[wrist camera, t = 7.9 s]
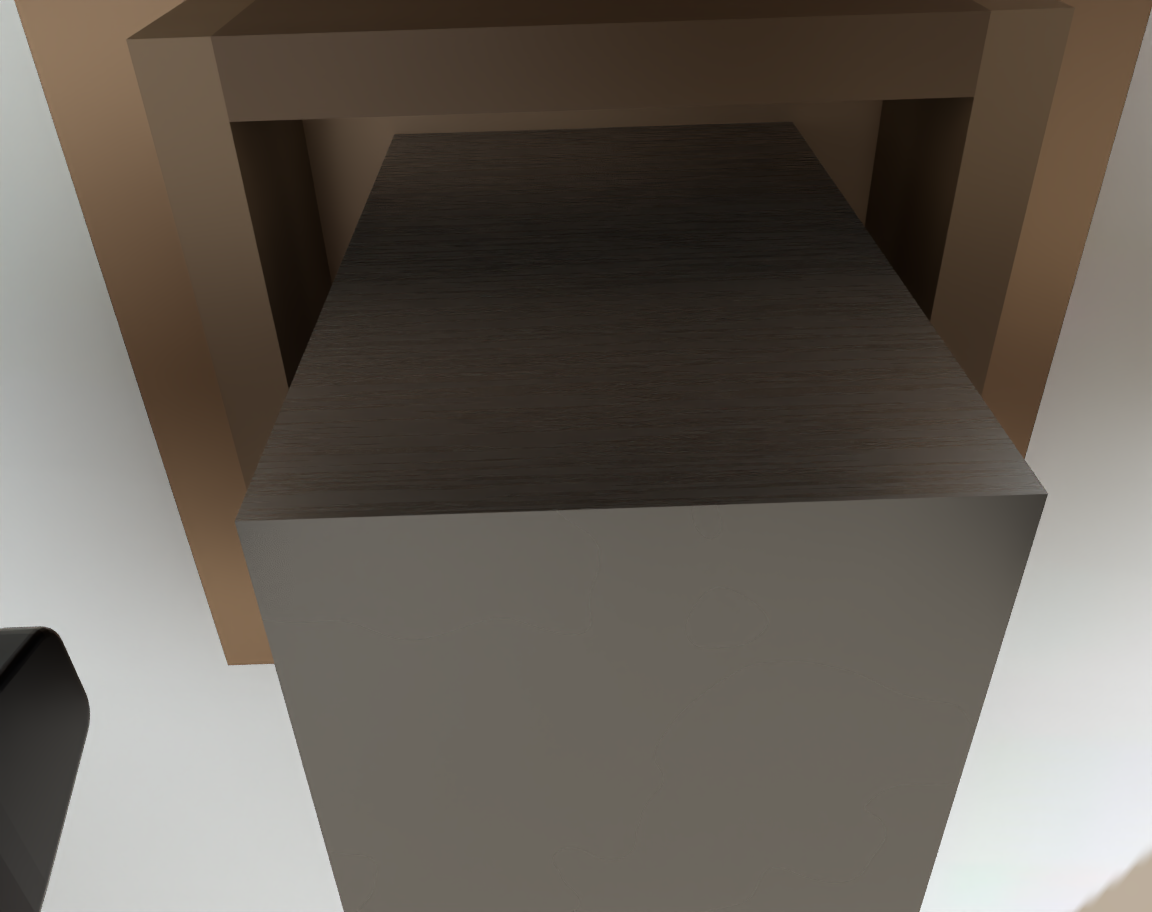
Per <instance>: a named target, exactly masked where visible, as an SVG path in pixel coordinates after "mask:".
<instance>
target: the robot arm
mask: <svg viewBox="0 0 1152 912" xmlns="http://www.w3.org/2000/svg"><path fill="white" fill-rule="evenodd" d="M89 720H90V708H89V702H88V698H87V695H86V693H85V690H84V688H83V686H82V684H81V681H80V679H79V677H78V675H77V673H76V670H75V668H74V666H73V664H72V661H71V659H70V657H69V655H68V652H67V650H66V648H65V646H64V643H63V641H62V639H61V638H60V636H59V635H58V634H57V633H56V632H55V631H54V630H52V629H51V628H47V627H41V626H40V627H12V628H1V629H0V912H40V911H41V908H42V904H43V901H44V897H45V894H46V891H47V887H48V883H49V880H50V876H51V872H52V868H53V864H54V860H55V856H56V853H57V849H58V845H59V841H60V837H61V833H62V829H63V826H64V822H65V818H66V814H67V810H68V806H69V802H70V799H71V795H72V791H73V787H74V783H75V779H76V775H77V772H78V768H79V764H80V760H81V756H82V752H83V748H84V744H85V741H86V737H87V733H88V728H89Z"/></svg>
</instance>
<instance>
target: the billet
mask: <svg viewBox="0 0 1152 912" xmlns="http://www.w3.org/2000/svg"><path fill="white" fill-rule="evenodd" d="M1047 495H1048V493H1047V492H1046V490H1045V489H1044V487H1043V486H1042V485H1041V483H1040V482H1039V480H1038V479H1037V477H1036V476H1035V474H1034V473H1033V471H1032V470H1031V469H1030V467H1029V466H1028V464H1027V463H1026V461H1025V460H1024V458H1023V457H1022V455H1021V454H1020V452H1019V451H1018V450H1017V448H1016V447H1015V445H1014V444H1013V442H1012V441H1011V439H1010V438H1009V436H1008V435H1007V434H1006V432H1005V431H1004V429H1003V428H1002V426H1001V425H1000V423H999V422H998V420H997V419H996V418H995V416H994V415H993V413H992V412H991V410H990V409H989V407H988V406H987V404H986V403H985V402H984V400H983V399H982V397H981V396H980V394H979V393H978V391H977V390H976V388H975V387H974V385H973V384H972V383H971V381H970V380H969V378H968V377H967V375H966V374H965V372H964V371H963V369H962V368H961V367H960V365H959V364H958V362H957V361H956V359H955V358H954V356H953V355H952V353H951V352H950V351H949V349H948V348H947V346H946V345H945V343H944V342H943V340H942V339H941V337H940V336H939V335H938V333H937V332H936V330H935V329H934V327H933V326H932V324H931V323H930V321H929V320H928V318H927V317H926V316H925V314H924V313H923V311H922V310H921V308H920V307H919V305H918V304H917V302H916V301H915V300H914V298H913V297H912V295H911V294H910V292H909V291H908V289H907V288H906V286H905V285H904V284H903V282H902V281H901V279H900V278H899V276H898V275H897V273H896V272H895V270H894V269H893V268H892V266H891V265H890V263H889V262H888V260H887V259H886V257H885V256H884V254H883V253H882V251H881V250H880V249H879V247H878V246H877V244H876V243H875V241H874V240H873V238H872V237H871V235H870V234H869V233H868V231H867V230H866V228H865V227H864V225H863V224H862V222H861V221H860V219H859V218H858V217H857V215H856V214H855V212H854V211H853V209H852V208H851V206H850V205H849V203H848V202H847V201H846V199H845V198H844V196H843V195H842V193H841V192H840V190H839V189H838V187H837V186H836V185H835V183H834V182H833V180H832V179H831V177H830V176H829V174H828V173H827V171H826V170H825V168H824V167H823V166H822V164H821V163H820V161H819V160H818V158H817V157H816V155H815V154H814V152H813V151H812V150H811V148H810V147H809V145H808V144H807V142H806V141H805V139H804V138H803V136H802V135H801V134H800V132H799V131H798V129H797V128H796V126H795V125H794V123H793V122H767V123H736V124H704V125H673V126H641V127H610V128H578V129H547V130H515V131H484V132H453V133H421V134H394V136H393V139H392V141H391V144H390V146H389V148H388V151H387V153H386V156H385V158H384V161H383V163H382V165H381V168H380V170H379V173H378V175H377V178H376V180H375V182H374V185H373V187H372V190H371V192H370V194H369V197H368V199H367V202H366V204H365V207H364V209H363V211H362V214H361V216H360V219H359V221H358V224H357V226H356V228H355V231H354V233H353V236H352V238H351V240H350V243H349V245H348V248H347V250H346V253H345V255H344V257H343V260H342V262H341V265H340V267H339V270H338V272H337V274H336V277H335V279H334V282H333V284H332V287H331V289H330V291H329V294H328V296H327V299H326V301H325V303H324V306H323V308H322V311H321V313H320V316H319V318H318V320H317V323H316V325H315V328H314V330H313V333H312V335H311V337H310V340H309V342H308V345H307V347H306V350H305V352H304V354H303V357H302V359H301V362H300V364H299V366H298V369H297V371H296V374H295V376H294V379H293V381H292V383H291V386H290V388H289V391H288V393H287V396H286V398H285V400H284V403H283V405H282V408H281V410H280V413H279V415H278V417H277V420H276V422H275V425H274V427H273V429H272V432H271V434H270V437H269V439H268V442H267V444H266V446H265V449H264V451H263V454H262V456H261V459H260V461H259V463H258V466H257V468H256V471H255V473H254V475H253V478H252V480H251V483H250V485H249V488H248V490H247V492H246V495H245V497H244V500H243V502H242V505H241V507H240V509H239V512H238V514H237V517H236V519H235V525H236V528H237V532H238V535H239V539H240V543H241V546H242V550H243V553H244V557H245V560H246V564H247V568H248V571H249V575H250V578H251V582H252V585H253V589H254V592H255V596H256V600H257V603H258V607H259V610H260V614H261V617H262V621H263V625H264V628H265V632H266V635H267V639H268V642H269V646H270V649H271V653H272V657H273V660H274V664H275V667H276V671H277V674H278V678H279V682H280V685H281V689H282V692H283V696H284V699H285V703H286V706H287V710H288V714H289V717H290V721H291V724H292V728H293V731H294V735H295V739H296V742H297V746H298V749H299V753H300V756H301V760H302V763H303V767H304V771H305V774H306V778H307V781H308V785H309V788H310V792H311V796H312V799H313V803H314V806H315V810H316V813H317V817H318V821H319V824H320V828H321V831H322V835H323V838H324V842H325V845H326V849H327V853H328V856H329V860H330V863H331V867H332V870H333V874H334V878H335V881H336V885H337V888H338V892H339V895H340V899H341V902H342V906H343V910H344V912H919V911H920V908H921V905H922V901H923V898H924V895H925V892H926V888H927V885H928V882H929V879H930V875H931V872H932V869H933V866H934V862H935V859H936V856H937V853H938V849H939V846H940V843H941V840H942V836H943V833H944V830H945V827H946V823H947V820H948V817H949V814H950V810H951V807H952V804H953V801H954V797H955V794H956V791H957V788H958V784H959V781H960V778H961V775H962V771H963V768H964V765H965V762H966V758H967V755H968V752H969V749H970V745H971V742H972V739H973V736H974V732H975V729H976V726H977V723H978V719H979V716H980V713H981V710H982V706H983V703H984V700H985V697H986V693H987V690H988V687H989V683H990V680H991V677H992V674H993V670H994V667H995V664H996V661H997V657H998V654H999V651H1000V648H1001V644H1002V641H1003V638H1004V635H1005V631H1006V628H1007V625H1008V622H1009V618H1010V615H1011V612H1012V609H1013V605H1014V602H1015V599H1016V596H1017V592H1018V589H1019V586H1020V583H1021V579H1022V576H1023V573H1024V570H1025V566H1026V563H1027V560H1028V557H1029V553H1030V550H1031V547H1032V544H1033V540H1034V537H1035V534H1036V531H1037V527H1038V524H1039V521H1040V518H1041V514H1042V511H1043V508H1044V505H1045V501H1046V498H1047Z"/></svg>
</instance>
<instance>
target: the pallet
mask: <svg viewBox="0 0 1152 912" xmlns="http://www.w3.org/2000/svg"><path fill="white" fill-rule="evenodd" d="M14 1H15V4H16V7H17V10H18V13H19V16H20V19H21V23H22V26H23V29H24V32H25V35H26V38H27V41H28V44H29V47H30V51H31V54H32V57H33V60H34V63H35V66H36V69H37V72H38V75H39V78H40V82H41V85H42V88H43V91H44V94H45V97H46V100H47V103H48V106H49V110H50V113H51V116H52V119H53V122H54V125H55V128H56V131H57V134H58V138H59V141H60V144H61V147H62V150H63V153H64V156H65V159H66V162H67V166H68V169H69V172H70V175H71V178H72V181H73V184H74V187H75V190H76V194H77V197H78V200H79V203H80V206H81V209H82V212H83V215H84V218H85V222H86V225H87V228H88V231H89V234H90V237H91V240H92V243H93V246H94V250H95V253H96V256H97V259H98V262H99V265H100V268H101V271H102V274H103V278H104V281H105V284H106V287H107V290H108V293H109V296H110V299H111V302H112V306H113V309H114V312H115V315H116V318H117V321H118V324H119V327H120V330H121V334H122V337H123V340H124V343H125V346H126V349H127V352H128V355H129V358H130V362H131V365H132V368H133V371H134V374H135V377H136V380H137V383H138V386H139V390H140V393H141V396H142V399H143V402H144V405H145V408H146V411H147V414H148V418H149V421H150V424H151V427H152V430H153V433H154V436H155V439H156V442H157V446H158V449H159V452H160V455H161V458H162V461H163V464H164V467H165V470H166V474H167V477H168V480H169V483H170V486H171V489H172V492H173V495H174V498H175V502H176V505H177V508H178V511H179V514H180V517H181V520H182V523H183V526H184V529H185V533H186V536H187V539H188V542H189V545H190V548H191V551H192V554H193V557H194V561H195V564H196V567H197V570H198V573H199V576H200V579H201V582H202V585H203V589H204V592H205V595H206V598H207V601H208V604H209V607H210V610H211V613H212V617H213V620H214V623H215V626H216V629H217V632H218V635H219V638H220V641H221V645H222V648H223V651H224V654H225V657H226V660H227V663H228V665H247V664H274V660H273V657H272V653H271V649H270V646H269V642H268V639H267V635H266V632H265V628H264V625H263V621H262V617H261V614H260V610H259V607H258V603H257V600H256V596H255V592H254V589H253V585H252V582H251V578H250V575H249V571H248V568H247V564H246V560H245V557H244V553H243V550H242V546H241V543H240V539H239V535H238V532H237V528H236V525H235V519H236V517H237V514H238V512H239V509H240V507H241V505H242V502H243V500H244V497H245V495H246V492H247V490H248V488H249V485H250V483H251V480H252V478H253V475H254V473H255V471H256V468H257V466H258V463H259V461H260V459H261V456H262V454H263V451H264V449H265V446H266V444H267V442H268V439H269V437H270V434H271V432H272V429H273V427H274V425H275V422H276V420H277V417H278V415H279V413H280V410H281V408H282V405H283V403H284V400H285V398H286V396H287V393H288V391H289V388H290V386H291V383H292V381H293V379H294V376H295V374H296V371H297V369H298V366H299V364H300V362H301V359H302V357H303V354H304V352H305V350H306V347H307V345H308V342H309V340H310V337H311V335H312V333H313V330H314V328H315V325H316V323H317V320H318V318H319V316H320V313H321V311H322V308H323V306H324V303H325V301H326V299H327V296H328V294H329V291H330V289H331V287H332V284H333V282H334V279H335V277H336V274H337V272H338V270H339V267H340V265H341V262H342V260H343V257H344V255H345V253H346V250H347V248H348V245H349V243H350V240H351V238H352V236H353V233H354V231H355V228H356V226H357V224H358V221H359V219H360V216H361V214H362V211H363V209H364V207H365V204H366V202H367V199H368V197H369V194H370V192H371V190H372V187H373V185H374V182H375V180H376V178H377V175H378V173H379V170H380V168H381V165H382V163H383V161H384V158H385V156H386V153H387V151H388V148H389V146H390V144H391V141H392V139H393V136H394V134H421V133H453V132H484V131H515V130H547V129H578V128H610V127H641V126H673V125H704V124H736V123H767V122H793V123H794V125H795V126H796V128H797V129H798V131H799V132H800V134H801V135H802V136H803V138H804V139H805V141H806V142H807V144H808V145H809V147H810V148H811V150H812V151H813V152H814V154H815V155H816V157H817V158H818V160H819V161H820V163H821V164H822V166H823V167H824V168H825V170H826V171H827V173H828V174H829V176H830V177H831V179H832V180H833V182H834V183H835V185H836V186H837V187H838V189H839V190H840V192H841V193H842V195H843V196H844V198H845V199H846V201H847V202H848V203H849V205H850V206H851V208H852V209H853V211H854V212H855V214H856V215H857V217H858V218H859V219H860V221H861V222H862V224H863V225H864V227H865V228H866V230H867V231H868V233H869V234H870V235H871V237H872V238H873V240H874V241H875V243H876V244H877V246H878V247H879V249H880V250H881V251H882V253H883V254H884V256H885V257H886V259H887V260H888V262H889V263H890V265H891V266H892V268H893V269H894V270H895V272H896V273H897V275H898V276H899V278H900V279H901V281H902V282H903V284H904V285H905V286H906V288H907V289H908V291H909V292H910V294H911V295H912V297H913V298H914V300H915V301H916V302H917V304H918V305H919V307H920V308H921V310H922V311H923V313H924V314H925V316H926V317H927V318H928V320H929V321H930V323H931V324H932V326H933V327H934V329H935V330H936V332H937V333H938V335H939V336H940V337H941V339H942V340H943V342H944V343H945V345H946V346H947V348H948V349H949V351H950V352H951V353H952V355H953V356H954V358H955V359H956V361H957V362H958V364H959V365H960V367H961V368H962V369H963V371H964V372H965V374H966V375H967V377H968V378H969V380H970V381H971V383H972V384H973V385H974V387H975V388H976V390H977V391H978V393H979V394H980V396H981V397H982V399H983V400H984V402H985V403H986V404H987V406H988V407H989V409H990V410H991V412H992V413H993V415H994V416H995V418H996V419H997V420H998V422H999V423H1000V425H1001V426H1002V428H1003V429H1004V431H1005V432H1006V434H1007V435H1008V436H1009V438H1010V439H1011V441H1012V442H1013V444H1014V445H1015V447H1016V448H1017V450H1018V451H1019V452H1020V454H1021V455H1022V457H1023V458H1024V459H1025V455H1026V452H1027V448H1028V445H1029V441H1030V438H1031V434H1032V431H1033V427H1034V423H1035V420H1036V416H1037V413H1038V409H1039V406H1040V402H1041V399H1042V395H1043V391H1044V388H1045V384H1046V381H1047V377H1048V374H1049V370H1050V367H1051V363H1052V360H1053V356H1054V352H1055V349H1056V345H1057V342H1058V338H1059V335H1060V331H1061V328H1062V324H1063V320H1064V317H1065V313H1066V310H1067V306H1068V303H1069V299H1070V296H1071V292H1072V288H1073V285H1074V281H1075V278H1076V274H1077V271H1078V267H1079V264H1080V260H1081V256H1082V253H1083V249H1084V246H1085V242H1086V239H1087V235H1088V232H1089V228H1090V224H1091V221H1092V217H1093V214H1094V210H1095V207H1096V203H1097V200H1098V196H1099V193H1100V189H1101V185H1102V182H1103V178H1104V175H1105V171H1106V168H1107V164H1108V161H1109V157H1110V153H1111V150H1112V146H1113V143H1114V139H1115V136H1116V132H1117V129H1118V125H1119V121H1120V118H1121V114H1122V111H1123V107H1124V104H1125V100H1126V97H1127V93H1128V89H1129V86H1130V82H1131V79H1132V75H1133V72H1134V68H1135V65H1136V61H1137V57H1138V54H1139V50H1140V47H1141V43H1142V40H1143V36H1144V33H1145V29H1146V26H1147V22H1148V18H1149V15H1150V11H1151V8H1152V0H14Z"/></svg>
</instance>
